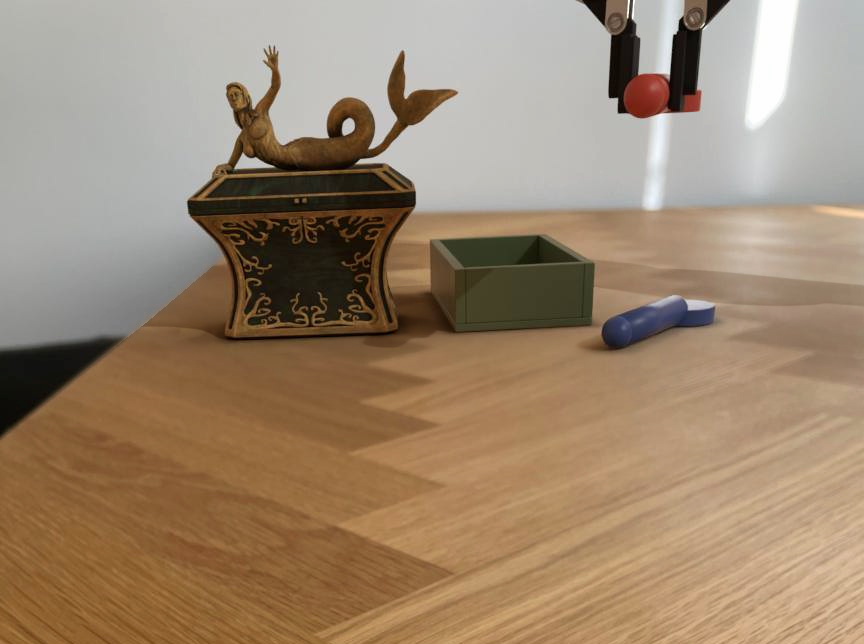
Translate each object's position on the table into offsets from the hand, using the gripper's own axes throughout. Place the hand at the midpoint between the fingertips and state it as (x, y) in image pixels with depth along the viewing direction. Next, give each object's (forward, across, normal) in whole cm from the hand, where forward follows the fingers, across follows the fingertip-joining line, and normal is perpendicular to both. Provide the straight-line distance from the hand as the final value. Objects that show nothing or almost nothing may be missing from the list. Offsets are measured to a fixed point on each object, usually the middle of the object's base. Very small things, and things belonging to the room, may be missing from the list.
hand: (651, 108), depth 61 cm
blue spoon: (+15, 0, -12) cm, 19 cm away
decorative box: (+15, +25, -10) cm, 31 cm away
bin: (+15, +13, -20) cm, 28 cm away
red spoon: (0, 0, -2) cm, 2 cm away
